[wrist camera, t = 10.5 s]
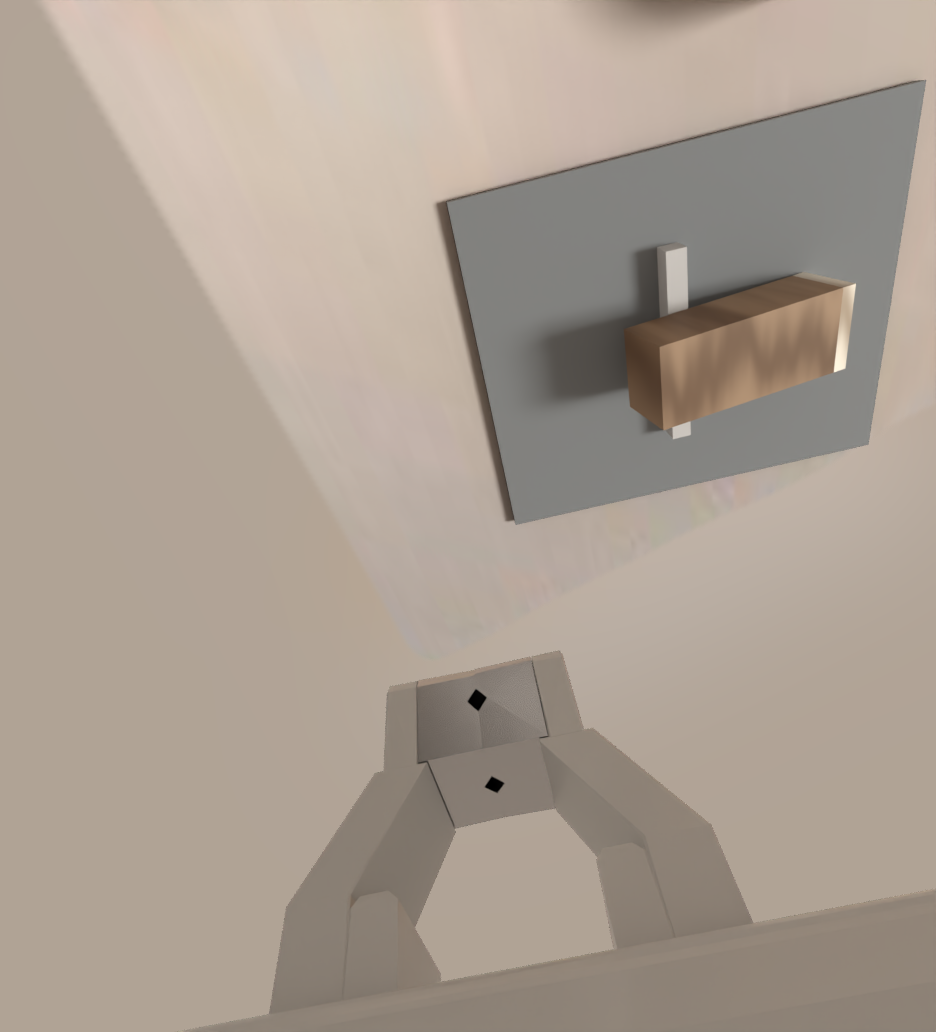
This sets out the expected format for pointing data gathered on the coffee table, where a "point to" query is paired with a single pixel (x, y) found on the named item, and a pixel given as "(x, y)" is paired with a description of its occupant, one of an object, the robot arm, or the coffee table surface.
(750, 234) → the slate mat
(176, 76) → the coffee table surface
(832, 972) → the robot arm
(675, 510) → the coffee table surface
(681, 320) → the walnut block
